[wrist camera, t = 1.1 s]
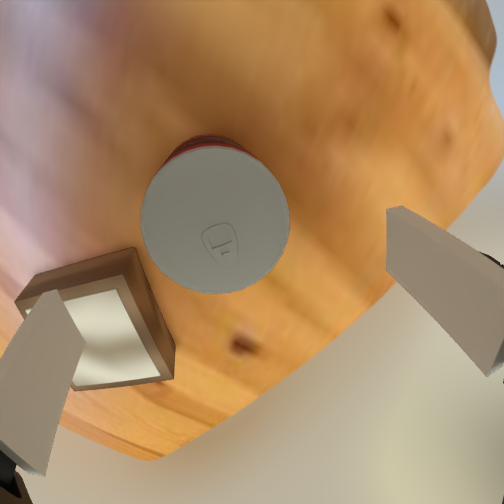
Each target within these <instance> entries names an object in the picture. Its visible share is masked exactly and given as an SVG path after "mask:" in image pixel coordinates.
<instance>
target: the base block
mask: <svg viewBox="0 0 504 504" xmlns="http://www.w3.org/2000/svg"><path fill="white" fill-rule="evenodd" d="M56 289H57V291H58V293H59V295H60V297H61V299H62V301H63V302H64V304H65V306H66V308H67V310H68V312H69V314H70V316H71V317H72V319H73V321H74V323H75V324H76V326H77V328H78V330H79V331H80V333H81V335H82V337H83V338H84V340H85V342H86V344H85V347H84V349H83V352H82V355H81V357H80V360H79V363H78V365H77V368H76V371H75V374H74V377H73V379H72V382H71V385H70V387H71V388H72V389H73V390H74V391H85V390H96V389H106V388H115V387H124V386H131V385H139V384H146V383H153V382H159V381H166V380H172V379H174V366H175V346H176V345H175V343H174V341H173V339H172V336H171V334H170V332H169V330H168V328H167V325H166V323H165V321H164V319H163V316H162V314H161V312H160V309H159V307H158V305H157V302H156V300H155V298H154V295H153V293H152V290H151V288H150V286H149V283H148V281H147V278H146V276H145V273H144V270H143V268H142V265H141V263H140V260H139V257H138V255H137V252H136V249H135V247H132V248H129V249H125V250H121V251H118V252H114V253H110V254H107V255H103V256H99V257H96V258H92V259H89V260H85V261H82V262H78V263H75V264H71V265H68V266H64V267H61V268H58V269H54V270H51V271H47V272H44V273H41V274H37V275H35V276H34V277H33V278H32V280H31V281H30V282H29V283H28V285H27V286H26V287H25V288H24V290H23V291H22V292H21V294H20V295H19V296H18V298H17V299H16V300H15V304H16V306H17V308H18V310H19V311H20V313H21V315H22V316H23V318H24V320H25V318H26V317H27V315H28V314H29V312H30V311H31V309H32V308H33V306H34V305H35V304H36V302H37V301H38V299H39V298H40V296H41V295H42V294H43V293H44V292H48V291H52V290H56Z"/></svg>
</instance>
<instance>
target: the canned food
mask: <svg viewBox="0 0 504 504" xmlns="http://www.w3.org/2000/svg"><path fill="white" fill-rule="evenodd" d="M289 230H290V214H289V209H288V204H287V200H286V198H285V195H284V193H283V191H282V188H281V186H280V184H279V183H278V181H277V180H276V178H275V177H274V175H273V174H272V172H271V171H270V170H269V169H268V168H267V167H266V166H265V165H264V164H263V163H261V162H260V161H259V160H258V159H257V158H256V157H255V156H253V155H252V154H251V153H250V152H248V151H247V150H246V149H244V148H243V147H242V146H240V145H239V144H238V143H236V142H234V141H233V140H231V139H229V138H226V137H223V136H220V135H212V134H209V135H200V136H196V137H193V138H191V139H189V140H187V141H185V142H183V143H182V144H181V145H180V146H178V147H177V148H176V149H175V150H174V152H173V153H172V154H171V155H170V156H169V158H168V159H167V160H166V161H165V163H164V164H163V165H162V166H161V168H160V169H159V170H158V172H157V173H156V174H155V175H154V177H153V179H152V180H151V182H150V184H149V186H148V189H147V191H146V193H145V196H144V200H143V204H142V209H141V231H142V237H143V241H144V244H145V246H146V249H147V251H148V254H149V255H150V257H151V258H152V260H153V261H154V263H155V264H156V266H157V267H158V268H159V269H160V270H161V271H162V272H163V273H164V274H165V275H166V276H167V277H169V278H170V279H171V280H173V281H174V282H176V283H177V284H179V285H181V286H183V287H185V288H188V289H190V290H194V291H197V292H201V293H210V294H222V293H231V292H234V291H238V290H242V289H244V288H246V287H248V286H250V285H252V284H255V283H256V282H257V281H259V280H260V279H261V278H263V277H264V276H266V274H267V273H268V272H269V271H270V270H271V269H272V268H273V267H274V266H275V265H276V263H277V262H278V260H279V258H280V257H281V255H282V253H283V251H284V248H285V246H286V243H287V240H288V235H289Z"/></svg>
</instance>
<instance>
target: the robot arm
mask: <svg viewBox="0 0 504 504" xmlns="http://www.w3.org/2000/svg"><path fill="white" fill-rule="evenodd" d="M386 219H387V256H386V271H387V272H388V273H389V274H390V275H391V276H392V277H393V278H394V279H395V280H396V281H397V282H398V283H399V284H400V285H401V286H402V287H403V288H404V289H405V290H406V291H407V292H408V293H409V294H410V295H411V296H412V297H413V298H414V299H415V300H416V301H417V302H418V303H419V304H420V305H421V306H422V307H423V308H424V309H425V310H426V311H427V312H428V313H429V314H430V315H431V316H432V317H433V318H434V319H435V320H436V321H437V322H438V323H439V324H440V326H441V327H442V328H443V329H444V330H445V331H446V332H447V333H448V334H449V335H450V336H451V337H452V338H453V340H455V342H456V343H457V344H458V345H459V346H460V347H461V348H462V349H463V351H464V352H465V353H466V354H467V355H468V356H469V357H470V358H471V360H472V361H473V362H474V363H475V364H476V365H477V367H478V368H479V369H480V370H481V371H482V372H483V373H484V375H485V376H486V377H488V376H489V375H491V374H492V373H494V372H495V371H496V370H498V369H499V368H501V367H502V366H503V364H504V265H503V264H502V265H500V262H498V261H497V260H495V259H494V258H492V257H491V256H489V255H487V254H484V253H481V252H479V251H477V250H475V249H474V248H472V247H471V246H469V245H467V244H466V243H464V242H463V241H461V240H459V239H458V238H456V237H455V236H453V235H452V234H450V233H448V232H447V231H445V230H443V229H442V228H440V227H438V226H437V225H435V224H433V223H432V222H430V221H428V220H427V219H425V218H423V217H421V216H420V215H418V214H416V213H414V212H413V211H411V210H409V209H407V208H405V207H404V206H398V207H394V208H389V209H386ZM85 344H86V342H85V340H84V338H83V337H82V335H81V333H80V331H79V330H78V328H77V326H76V324H75V323H74V321H73V319H72V317H71V316H70V314H69V312H68V310H67V308H66V306H65V304H64V302H63V301H62V299H61V297H60V295H59V293H58V291H57V289H56V290H52V291H48V292H44V293H43V294H42V295H41V296H40V298H39V299H38V301H37V302H36V304H35V305H34V306H33V308H32V309H31V311H30V312H29V314H28V315H27V317H26V318H25V320H24V321H23V323H22V324H21V326H20V327H19V329H18V331H17V332H16V334H15V335H14V337H13V339H12V340H11V342H10V344H9V345H8V347H7V348H6V350H5V352H4V354H3V355H2V357H1V359H0V504H33V503H32V501H31V499H30V497H29V494H28V492H27V489H26V487H25V484H24V482H23V479H22V477H21V476H20V475H19V473H18V472H16V471H15V468H16V465H18V466H19V467H21V468H22V469H23V470H24V471H26V472H27V473H28V474H32V475H38V476H43V477H45V475H46V470H47V466H48V462H49V457H50V453H51V449H52V445H53V442H54V437H55V434H56V430H57V427H58V424H59V420H60V417H61V413H62V410H63V407H64V404H65V400H66V397H67V394H68V391H69V388H70V385H71V382H72V379H73V377H74V374H75V371H76V368H77V365H78V363H79V360H80V357H81V355H82V352H83V349H84V347H85ZM503 383H504V381H503ZM502 504H504V498H503V502H502Z"/></svg>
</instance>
